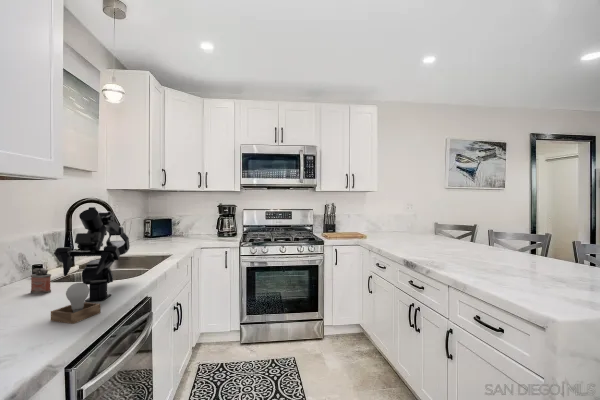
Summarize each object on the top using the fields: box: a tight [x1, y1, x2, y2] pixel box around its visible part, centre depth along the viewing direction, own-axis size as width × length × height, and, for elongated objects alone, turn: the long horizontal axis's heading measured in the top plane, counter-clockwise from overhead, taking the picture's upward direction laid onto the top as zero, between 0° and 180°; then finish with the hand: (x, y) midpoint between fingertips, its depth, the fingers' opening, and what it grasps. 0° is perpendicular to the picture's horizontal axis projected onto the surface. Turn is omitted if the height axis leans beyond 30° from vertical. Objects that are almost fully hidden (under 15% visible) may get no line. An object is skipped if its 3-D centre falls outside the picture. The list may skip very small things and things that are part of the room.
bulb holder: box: [50, 301, 102, 325], centre depth 94 cm, size 9×9×3 cm
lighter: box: [30, 267, 52, 295], centre depth 119 cm, size 8×3×10 cm, turn 84°
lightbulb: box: [65, 282, 89, 313], centre depth 94 cm, size 6×6×11 cm
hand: (80, 274), depth 97 cm, fingers open, 9 cm apart
